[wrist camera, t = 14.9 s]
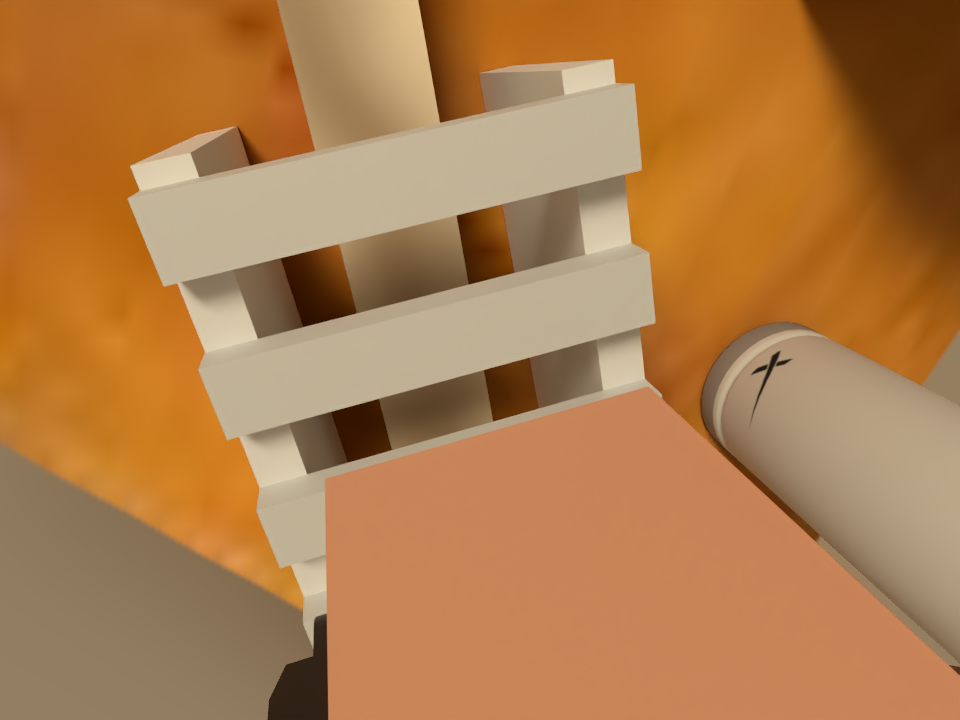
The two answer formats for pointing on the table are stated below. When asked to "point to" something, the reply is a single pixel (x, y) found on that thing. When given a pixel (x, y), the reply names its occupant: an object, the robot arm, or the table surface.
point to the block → (600, 587)
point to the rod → (369, 114)
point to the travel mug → (850, 460)
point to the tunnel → (417, 322)
